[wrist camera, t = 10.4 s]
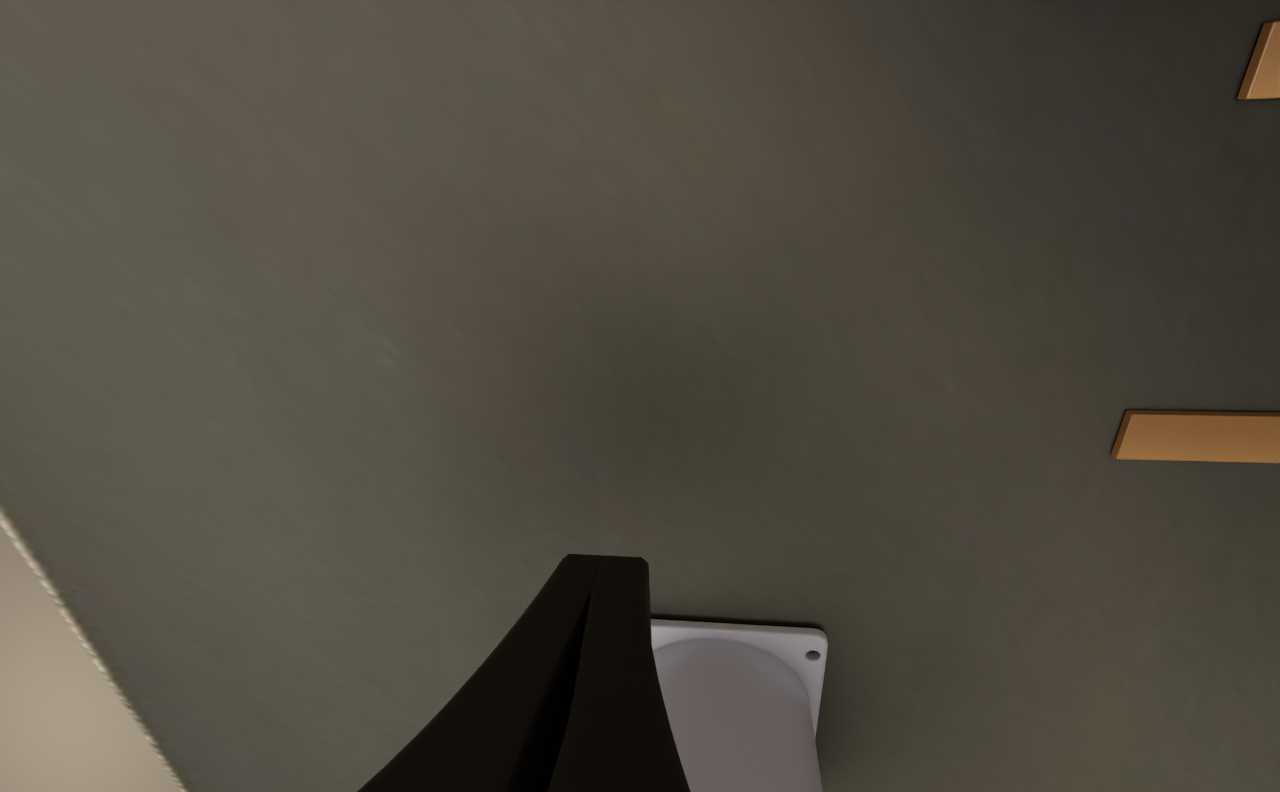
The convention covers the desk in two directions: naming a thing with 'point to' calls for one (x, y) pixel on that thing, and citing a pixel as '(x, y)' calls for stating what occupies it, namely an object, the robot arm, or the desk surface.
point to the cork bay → (1213, 433)
